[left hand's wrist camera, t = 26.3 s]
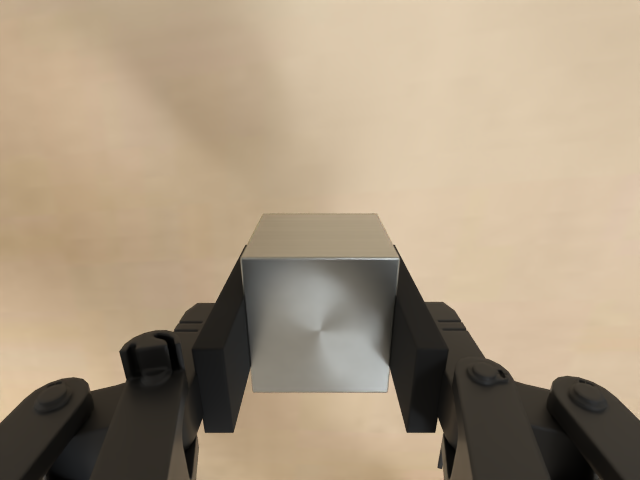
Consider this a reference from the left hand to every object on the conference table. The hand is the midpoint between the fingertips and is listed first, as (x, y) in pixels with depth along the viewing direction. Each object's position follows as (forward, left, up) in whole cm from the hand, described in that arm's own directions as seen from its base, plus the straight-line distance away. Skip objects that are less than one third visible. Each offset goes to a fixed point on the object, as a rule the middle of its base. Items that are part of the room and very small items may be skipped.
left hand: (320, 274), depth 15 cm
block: (0, 0, 0) cm, 0 cm away
